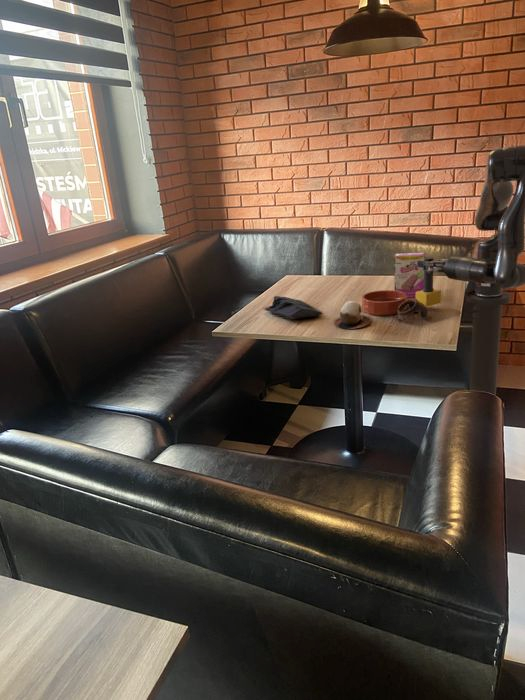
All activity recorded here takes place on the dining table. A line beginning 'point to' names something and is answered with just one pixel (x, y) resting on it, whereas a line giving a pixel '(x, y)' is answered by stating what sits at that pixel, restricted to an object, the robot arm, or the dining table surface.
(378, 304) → the terracotta ring
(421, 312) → the pottery mug
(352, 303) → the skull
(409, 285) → the candy bar box
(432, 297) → the sponge wand
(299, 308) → the folded black cloth
